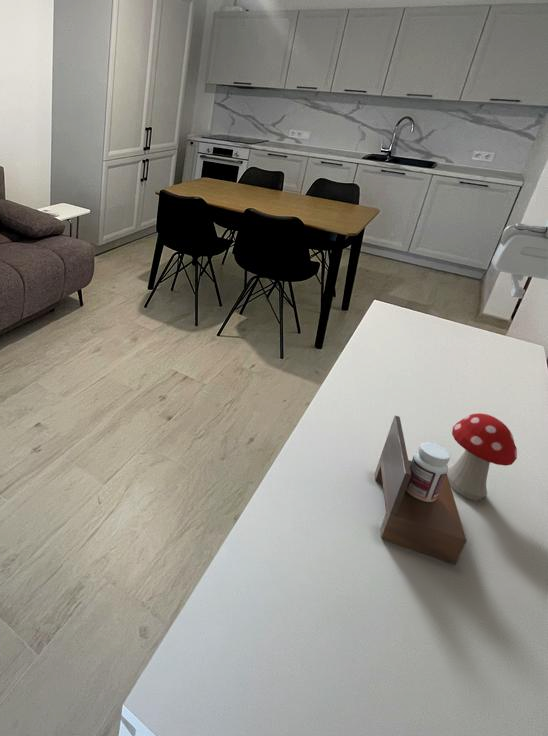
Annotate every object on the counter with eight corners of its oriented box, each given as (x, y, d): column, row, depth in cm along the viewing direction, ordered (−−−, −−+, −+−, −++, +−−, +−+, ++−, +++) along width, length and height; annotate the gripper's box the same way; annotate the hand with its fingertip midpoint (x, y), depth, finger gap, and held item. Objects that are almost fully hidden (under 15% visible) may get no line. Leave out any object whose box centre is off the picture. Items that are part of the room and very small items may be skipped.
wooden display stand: (437, 493, 88) (461, 433, 83) (455, 565, 74) (486, 498, 69) (374, 473, 91) (394, 415, 87) (380, 538, 78) (405, 473, 73)
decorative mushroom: (508, 509, 86) (543, 438, 80) (462, 509, 85) (494, 438, 79) (465, 467, 95) (493, 402, 89) (423, 467, 94) (448, 401, 89)
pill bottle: (425, 482, 83) (441, 441, 80) (442, 504, 79) (460, 462, 76) (397, 479, 83) (412, 438, 80) (412, 501, 79) (428, 459, 76)
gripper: (511, 225, 89) (484, 295, 94) (661, 246, 82) (623, 321, 87) (502, 218, 95) (476, 285, 100) (641, 237, 87) (607, 309, 92)
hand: (546, 302), depth 93 cm, fingers open, 8 cm apart
